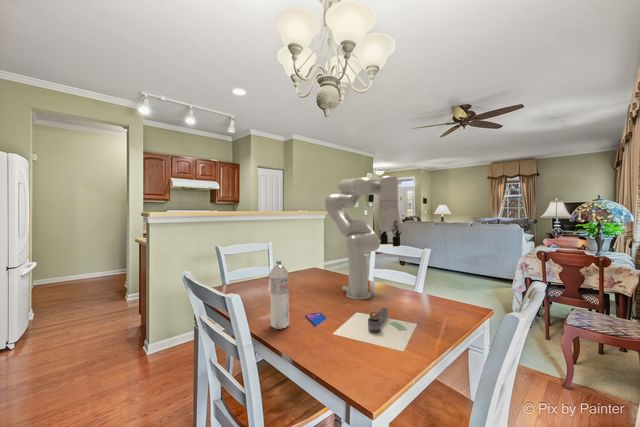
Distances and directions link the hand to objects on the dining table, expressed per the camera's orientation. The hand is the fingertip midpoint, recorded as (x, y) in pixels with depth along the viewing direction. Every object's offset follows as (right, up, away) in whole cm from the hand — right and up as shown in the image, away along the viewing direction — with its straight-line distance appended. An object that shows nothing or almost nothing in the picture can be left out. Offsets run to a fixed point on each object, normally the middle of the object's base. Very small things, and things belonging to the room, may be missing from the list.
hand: (390, 245), depth 115 cm
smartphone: (-30, -30, -8) cm, 43 cm away
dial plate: (-10, -29, -19) cm, 36 cm away
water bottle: (-45, -30, -12) cm, 56 cm away
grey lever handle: (-8, -27, -16) cm, 33 cm away
